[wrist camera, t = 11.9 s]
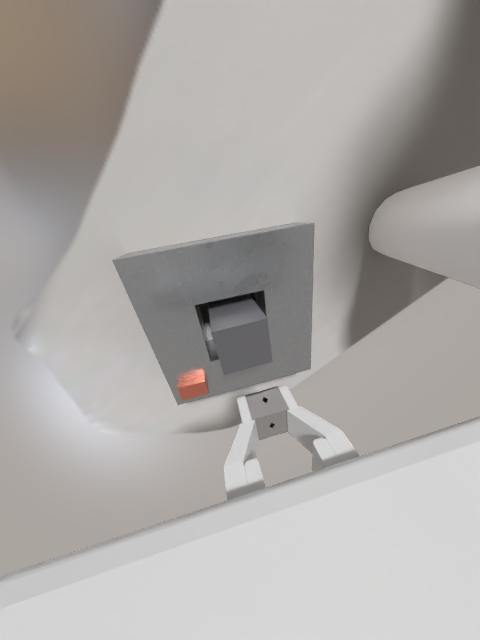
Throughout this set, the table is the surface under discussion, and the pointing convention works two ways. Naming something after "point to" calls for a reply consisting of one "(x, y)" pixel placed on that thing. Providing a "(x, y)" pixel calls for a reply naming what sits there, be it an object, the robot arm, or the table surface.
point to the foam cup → (434, 226)
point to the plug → (239, 333)
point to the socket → (220, 283)
